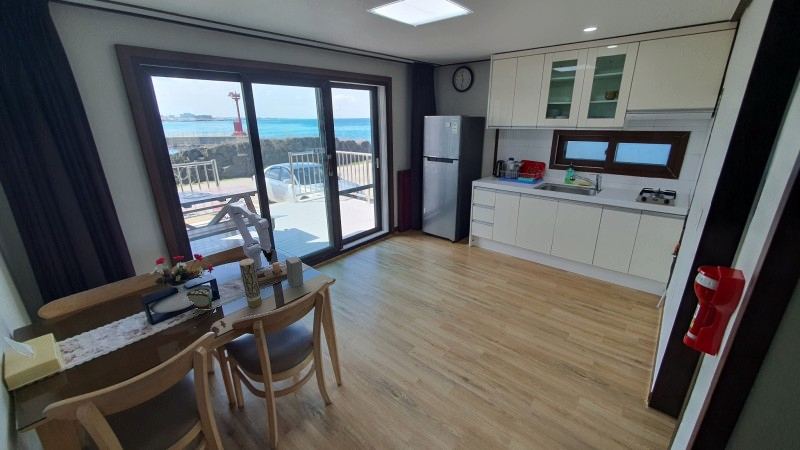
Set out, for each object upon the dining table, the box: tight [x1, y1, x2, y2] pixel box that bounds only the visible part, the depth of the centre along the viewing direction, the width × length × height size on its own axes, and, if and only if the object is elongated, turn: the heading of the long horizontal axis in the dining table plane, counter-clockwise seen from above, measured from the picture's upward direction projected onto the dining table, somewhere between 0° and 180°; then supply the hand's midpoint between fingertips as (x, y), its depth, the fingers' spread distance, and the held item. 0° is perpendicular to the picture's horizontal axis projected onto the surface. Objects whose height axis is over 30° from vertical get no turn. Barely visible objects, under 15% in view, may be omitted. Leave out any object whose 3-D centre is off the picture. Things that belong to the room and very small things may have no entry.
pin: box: [271, 261, 281, 274], centre depth 188 cm, size 4×4×8 cm
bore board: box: [256, 264, 287, 287], centre depth 187 cm, size 12×22×3 cm, turn 123°
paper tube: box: [238, 258, 263, 308], centre depth 158 cm, size 7×7×25 cm
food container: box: [185, 287, 213, 310], centre depth 158 cm, size 12×6×10 cm, turn 84°
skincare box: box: [285, 255, 304, 288], centre depth 179 cm, size 8×7×16 cm
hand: (268, 259), depth 190 cm, fingers open, 7 cm apart
